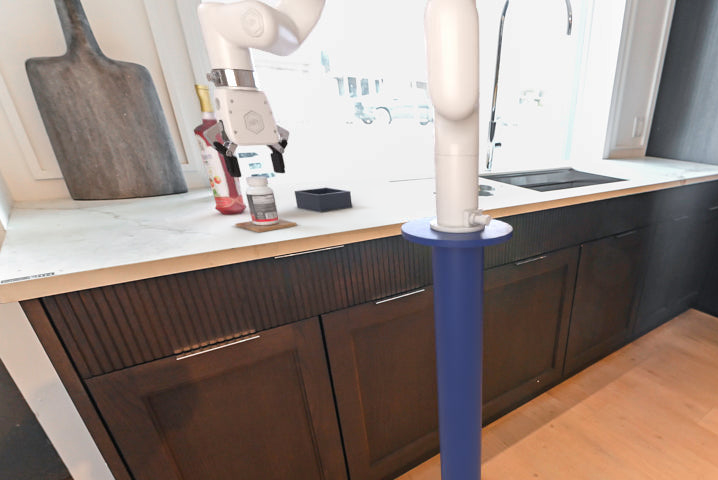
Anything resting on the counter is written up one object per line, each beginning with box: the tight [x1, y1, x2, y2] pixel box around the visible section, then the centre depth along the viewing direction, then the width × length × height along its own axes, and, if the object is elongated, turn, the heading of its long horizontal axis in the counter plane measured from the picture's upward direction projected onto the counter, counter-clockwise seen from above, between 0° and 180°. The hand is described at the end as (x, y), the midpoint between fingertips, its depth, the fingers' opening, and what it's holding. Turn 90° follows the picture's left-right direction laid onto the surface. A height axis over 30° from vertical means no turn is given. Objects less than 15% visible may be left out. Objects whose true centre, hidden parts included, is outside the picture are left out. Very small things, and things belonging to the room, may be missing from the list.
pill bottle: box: [245, 175, 280, 225], centre depth 93 cm, size 5×5×10 cm
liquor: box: [193, 84, 248, 215], centre depth 101 cm, size 7×7×28 cm
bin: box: [294, 187, 353, 213], centre depth 117 cm, size 10×10×4 cm
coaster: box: [234, 218, 298, 233], centre depth 96 cm, size 9×9×1 cm
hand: (258, 174), depth 91 cm, fingers open, 9 cm apart
